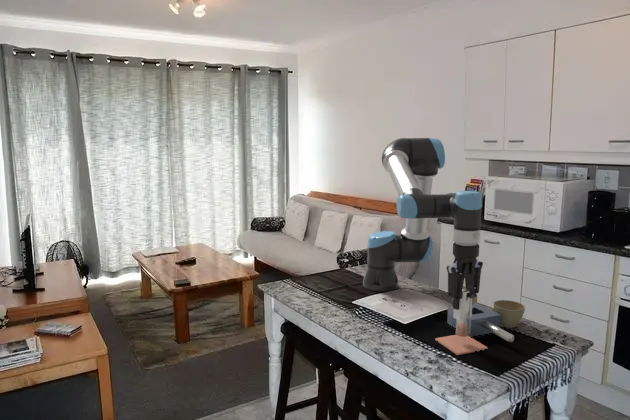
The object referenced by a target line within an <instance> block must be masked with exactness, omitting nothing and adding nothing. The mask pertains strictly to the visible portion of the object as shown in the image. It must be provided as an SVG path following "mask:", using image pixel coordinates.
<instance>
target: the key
mask: <svg viewBox="0 0 630 420" xmlns="http://www.w3.org/2000/svg"><path fill="white" fill-rule="evenodd" d="M470 298H474V294H473V293H470V290H467V289H462V295H461V299H463V307H462V320H458V319H456V329H455V335H458V336H461V337H466V336H468V324H469V305H470Z"/></svg>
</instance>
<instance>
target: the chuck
mask: <svg viewBox="0 0 630 420" xmlns="http://www.w3.org/2000/svg"><path fill="white" fill-rule="evenodd" d="M453 313H454V309H453V305H452V306H448V307H447V319H446V320H447V322H446V323H448V324H449V325H448V324H447V325H448V326H450V325H451V326H450V327H452V326H453V327H454V329H455V328H456V319H455V318H453ZM501 326H502V325H501V315H500V314H498V313H496V312H495V311H494V310H492V309H490V308H488V307H486V306H484V305H482V304H480V303H478V302H477V303H473V306H472V317H471V318H469V324H468V336H469V337H472V338H474V337H473V336H477V337H479V336H478V335H482V336H484V335H483V334H488V335H490V334H489V333H493V334H494V335H496V336H498V337H500V338H501V339H503V340H505V341H507V342H509V343H513V342H514V340H515V335H513V334H512V333H509V332H508V331H506V330H504V329H503V328H501ZM453 327H452V328H453Z"/></svg>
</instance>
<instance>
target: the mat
mask: <svg viewBox="0 0 630 420" xmlns="http://www.w3.org/2000/svg"><path fill="white" fill-rule="evenodd" d="M434 339H435V342H437V341H438V342H437V343H438V344H440V345H442V346H443V347H445V348H446V349H448V350H449V351H450V352H452V353H454V355H456V356H461V355H465V354H470V353H475V351H477V352H480V350H482V351H486V350H485V349H487V350H488V346H486V345H484V344H482V343H481V342H480V341H477V340H476V339H475V338H474V337H472V338H471V337H469V336H466V337H461V336H458V335H456V334H452V335H447V336H442V337H441V336H440V337H436V338H434Z"/></svg>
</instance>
